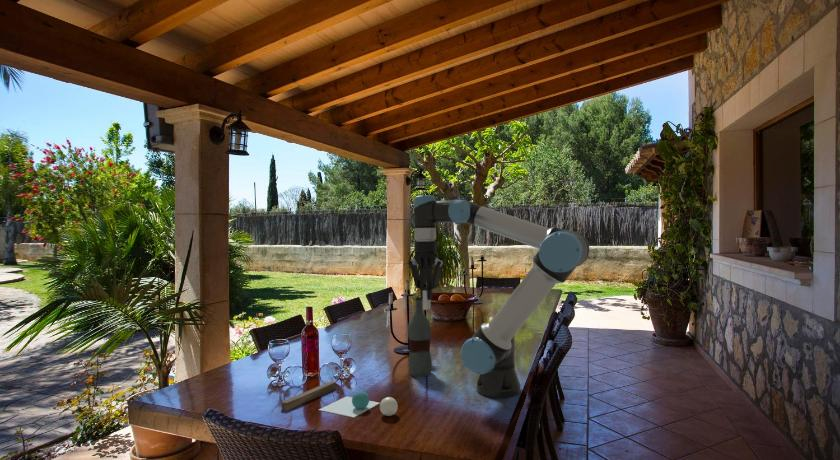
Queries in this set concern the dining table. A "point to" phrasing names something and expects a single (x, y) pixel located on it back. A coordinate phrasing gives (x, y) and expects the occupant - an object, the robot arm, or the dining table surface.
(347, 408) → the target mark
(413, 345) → the bottle
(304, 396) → the bar
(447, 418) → the dining table surface
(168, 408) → the dining table surface
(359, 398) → the teal ball
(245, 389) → the dining table surface
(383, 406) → the cue ball
